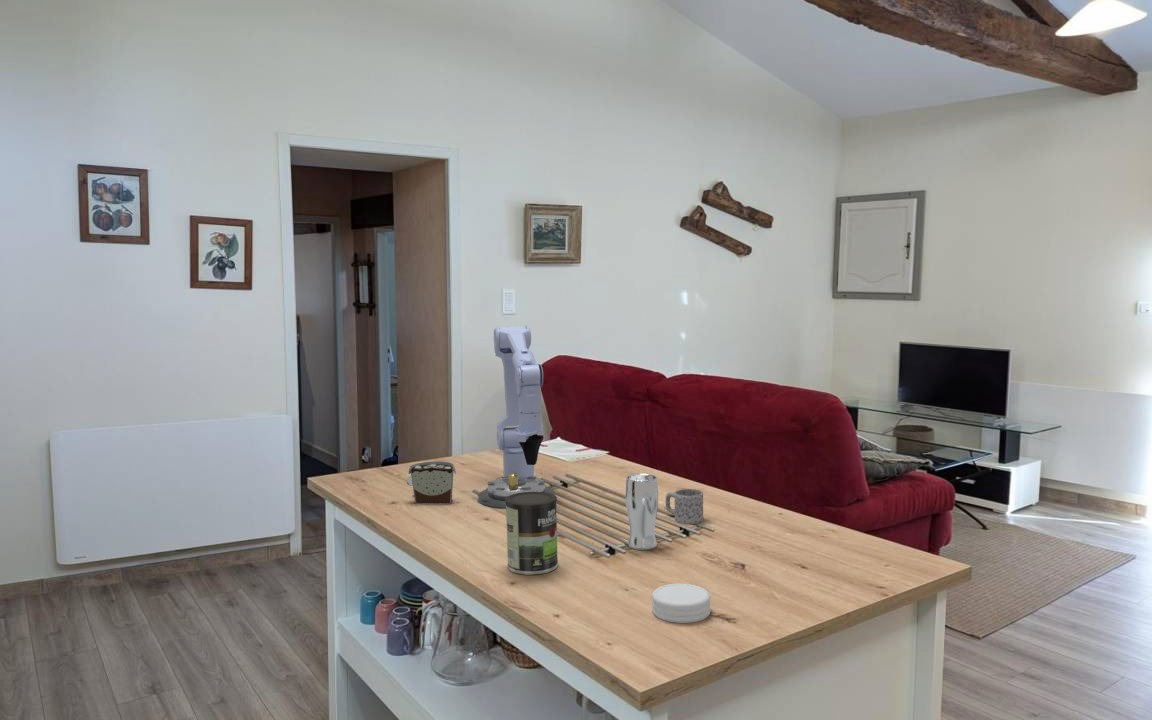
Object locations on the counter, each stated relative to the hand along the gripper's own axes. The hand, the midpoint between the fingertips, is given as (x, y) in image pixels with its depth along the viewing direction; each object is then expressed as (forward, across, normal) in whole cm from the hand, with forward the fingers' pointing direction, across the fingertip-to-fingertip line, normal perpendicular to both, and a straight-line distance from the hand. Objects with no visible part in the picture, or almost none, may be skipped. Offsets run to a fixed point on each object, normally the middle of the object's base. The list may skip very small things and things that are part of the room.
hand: (531, 464), depth 214 cm
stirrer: (+11, -7, -36) cm, 38 cm away
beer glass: (+10, +27, +34) cm, 45 cm away
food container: (+10, +3, -26) cm, 28 cm away
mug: (+10, +6, +40) cm, 41 cm away
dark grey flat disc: (+10, -4, -6) cm, 12 cm away
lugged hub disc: (+9, -4, -6) cm, 11 cm away
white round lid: (+10, +60, +48) cm, 77 cm away
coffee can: (+10, +44, +15) cm, 48 cm away
